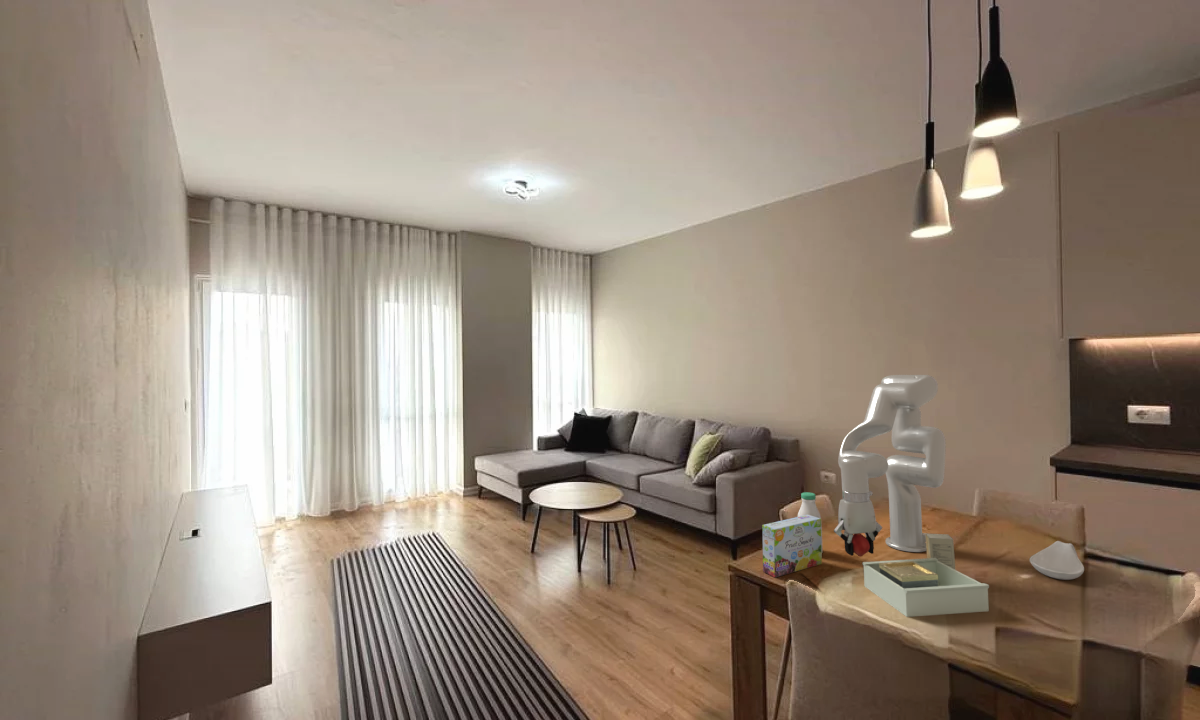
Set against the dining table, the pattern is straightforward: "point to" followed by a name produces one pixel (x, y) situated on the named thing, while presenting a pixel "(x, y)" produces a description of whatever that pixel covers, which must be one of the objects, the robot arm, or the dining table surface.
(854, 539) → the onion
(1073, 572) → the spoon rest
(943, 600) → the box
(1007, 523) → the dining table surface
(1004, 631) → the dining table surface
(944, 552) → the skincare box
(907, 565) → the tin
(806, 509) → the milk bottle
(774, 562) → the snack box
